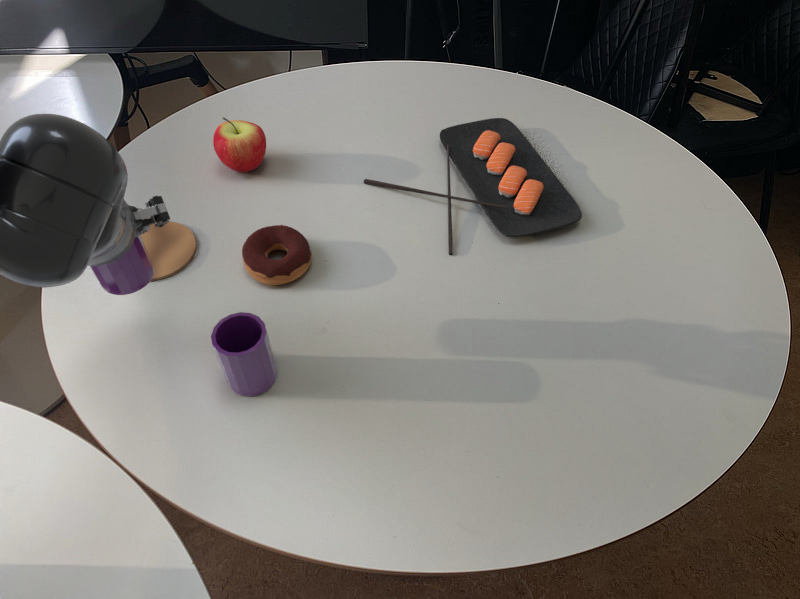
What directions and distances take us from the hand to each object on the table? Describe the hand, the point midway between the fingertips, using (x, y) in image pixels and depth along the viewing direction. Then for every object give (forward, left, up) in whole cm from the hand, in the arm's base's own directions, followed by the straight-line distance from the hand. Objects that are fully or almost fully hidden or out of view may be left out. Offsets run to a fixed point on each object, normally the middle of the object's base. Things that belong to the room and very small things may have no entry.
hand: (108, 234), depth 69 cm
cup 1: (0, -2, -5) cm, 6 cm away
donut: (+18, +5, -16) cm, 25 cm away
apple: (+17, +29, -16) cm, 38 cm away
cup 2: (+11, -13, -16) cm, 24 cm away
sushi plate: (+50, +12, -16) cm, 54 cm away
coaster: (+1, +13, -16) cm, 21 cm away
